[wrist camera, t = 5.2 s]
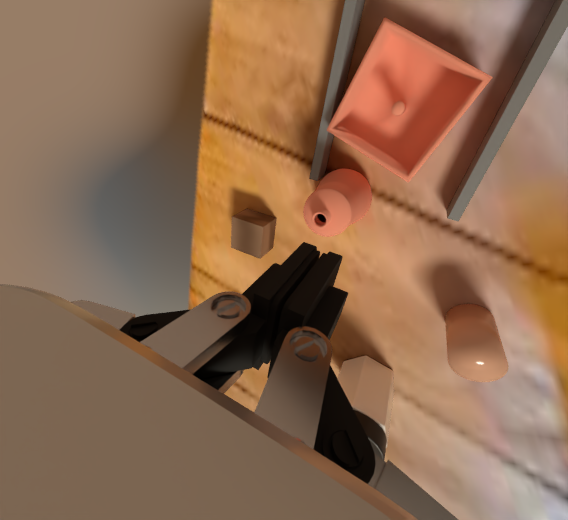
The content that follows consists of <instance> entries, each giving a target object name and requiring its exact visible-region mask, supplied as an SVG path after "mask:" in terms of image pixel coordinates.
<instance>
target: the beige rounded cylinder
mask: <svg viewBox="0 0 568 520" xmlns="http://www.w3.org/2000/svg"><path fill="white" fill-rule="evenodd" d="M445 323H446V339H447V354H448V363H449V366H450V367H451V369H452V370H453V371H454V372H455V373H457V374H458V375H460V376H461V377H463V378H466V379H469V380H472V381H477V382H490V381H495V380H498V379H500V378H502V377H503V376H504V375H505V374H506V373H507V371H508V362H507V359H506V356H505V352H504V349H503V346H502V342H501V339H500V336H499V333H498V329H497V326H496V323H495V319H494V317H493V315H492V314H491V312H490V311H488V310H487V309H485V308H484V307H481V306H479V305H475V304H461V305H457V306H455V307H453V308H451V309H450V310H449V311H448V312H447V314H446V316H445Z"/></svg>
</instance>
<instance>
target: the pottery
mask: <svg viewBox="0 0 568 520" xmlns="http://www.w3.org/2000/svg"><path fill="white" fill-rule="evenodd" d="M492 78H493V77H491V76H489V75H488V74H486V73H484V72H482V71H480V70H479V69H477V68H475V67H473V66H471V65H470V64H468V63H466V62H464V61H462V60H461V59H459V58H457V57H455V56H454V55H452V54H450V53H448V52H446V51H445V50H443V49H441V48H439V47H437V46H436V45H434V44H432V43H430V42H428V41H427V40H425V39H423V38H421V37H419V36H418V35H416V34H414V33H412V32H410V31H409V30H407V29H405V28H403V27H402V26H400V25H398V24H396V23H394V22H393V21H391V20H389V19H387V18H385V17H384V19H383V21H382V23H381V25H380V27H379V29H378V30H377V32H376V34H375V36H374V38H373V40H372V42H371V44H370V46H369V48H368V50H367V52H366V54H365V56H364V58H363V60H362V62H361V64H360V66H359V68H358V70H357V72H356V73H355V75H354V77H353V79H352V81H351V83H350V85H349V87H348V89H347V91H346V93H345V95H344V97H343V99H342V101H341V103H340V105H339V107H338V109H337V111H336V113H335V114H334V116H333V118H332V120H331V122H330V124H329V126H328V128H327V131H328V132H330V133H332V134H333V135H335V136H336V137H338V138H339V139H341V140H342V141H344V142H346V143H347V144H349V145H350V146H352V147H353V148H355V149H357V150H358V151H360V152H361V153H363V154H364V155H366V156H368V157H369V158H371V159H372V160H374V161H375V162H377V163H379V164H380V165H382V166H383V167H385V168H386V169H388V170H390V171H391V172H393V173H394V174H396V175H397V176H399V177H400V178H402V179H404V180H405V181H407V182H409V181H410V180H411V179H412V177H413V176H414V175H415V174H416V172H417V171H418V170H419V169H420V168H421V166H422V165H423V164H424V163H425V161H426V160H427V159H428V158H429V156H430V155H431V154H432V153H433V151H434V150H435V149H436V148H437V146H438V145H439V144H440V143H441V141H442V140H443V139H444V138H445V136H446V135H447V134H448V133H449V131H450V130H451V129H452V128H453V126H454V125H455V124H456V123H457V121H458V120H459V119H460V118H461V116H462V115H463V114H464V113H465V111H466V110H467V109H468V108H469V106H470V105H471V104H472V103H473V101H474V100H475V99H476V98H477V96H478V95H479V94H480V93H481V91H482V90H483V89H484V88H485V87H486V85H487V84H488V83H489V82H490V80H491V79H492ZM371 201H372V193H371V188H370V185H369V183H368V181H367V179H366V178H365V177H364V176H363V175H362V174H360V173H359V172H357V171H354V170H352V169H337V170H334V171H332V172H330V173H328V174H327V175H326V176H324V177H323V179H322V180H321V181H320V183H319V185H318V186H317V189H316V190H315V191H314V192H313V193H312V194H311V195H310V196H309V197H308V199H307V201H306V203H305V206H304V219H305V221H306V224H307V225H308V227H309V228H310V229H311V230H312V231H313V232H315V233H316V234H318V235H321V236H327V237H329V236H334V235H338V234H340V233H341V232H343V231H344V230H345V229H346V228H347V227H348V226H349V225H351V224H353V223H355V222H357V221H359V220H360V219H361V218H363V217H364V215H365V214H366V213H367V211H368V209H369V207H370V205H371Z"/></svg>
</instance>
